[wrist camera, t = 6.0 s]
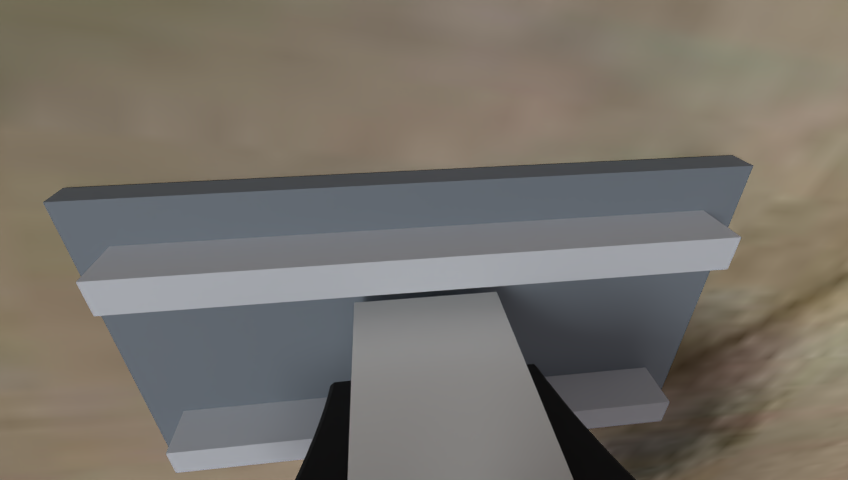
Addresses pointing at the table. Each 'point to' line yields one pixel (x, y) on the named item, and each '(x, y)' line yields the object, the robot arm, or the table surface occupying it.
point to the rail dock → (392, 283)
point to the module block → (445, 395)
